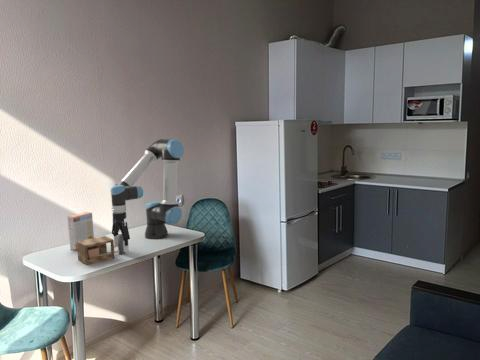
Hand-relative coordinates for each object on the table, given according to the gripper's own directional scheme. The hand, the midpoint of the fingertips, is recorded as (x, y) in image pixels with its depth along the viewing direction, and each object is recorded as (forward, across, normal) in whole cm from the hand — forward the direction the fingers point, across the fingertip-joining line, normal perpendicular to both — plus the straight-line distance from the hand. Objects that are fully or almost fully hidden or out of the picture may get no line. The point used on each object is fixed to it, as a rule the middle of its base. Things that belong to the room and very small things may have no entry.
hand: (121, 248), depth 245 cm
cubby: (+3, 0, -15) cm, 15 cm away
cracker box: (+3, -29, -12) cm, 32 cm away
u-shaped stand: (+3, 0, -9) cm, 10 cm away
